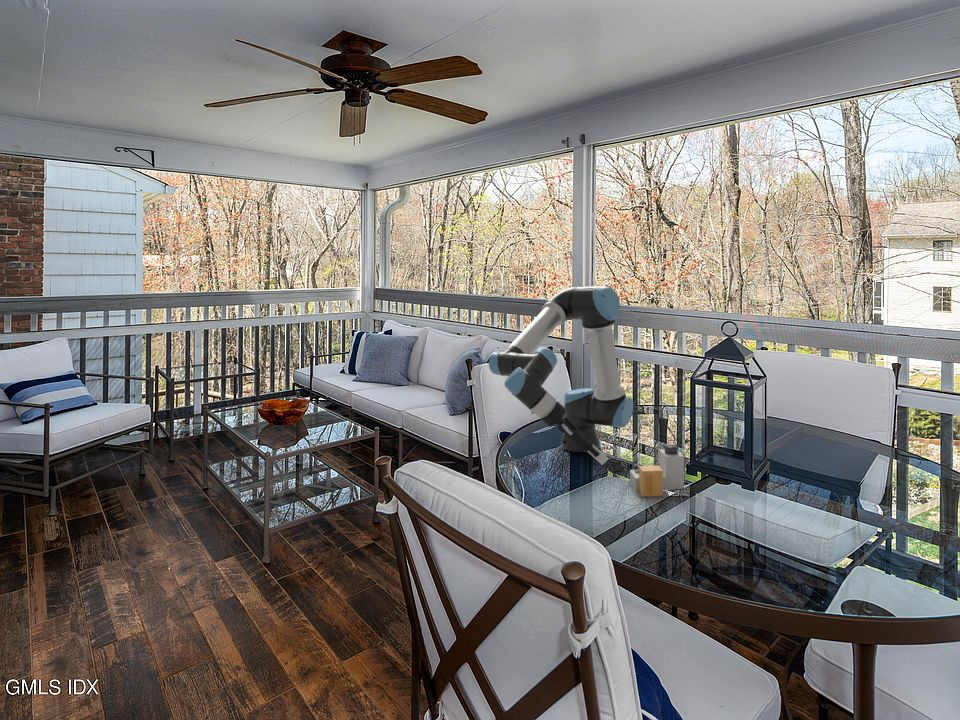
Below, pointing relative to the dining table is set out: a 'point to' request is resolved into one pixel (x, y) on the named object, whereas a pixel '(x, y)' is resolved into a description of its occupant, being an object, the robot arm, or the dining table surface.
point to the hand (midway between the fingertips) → (604, 461)
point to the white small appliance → (665, 471)
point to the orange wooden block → (650, 481)
